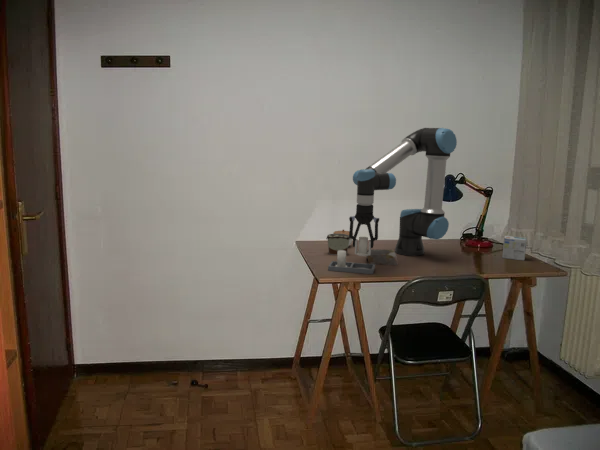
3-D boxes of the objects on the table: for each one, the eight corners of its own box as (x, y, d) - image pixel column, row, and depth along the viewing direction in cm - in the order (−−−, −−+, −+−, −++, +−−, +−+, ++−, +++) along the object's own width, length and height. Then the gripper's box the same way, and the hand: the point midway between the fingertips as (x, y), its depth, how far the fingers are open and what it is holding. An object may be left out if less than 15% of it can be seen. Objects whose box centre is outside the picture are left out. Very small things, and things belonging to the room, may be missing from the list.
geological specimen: (365, 249, 253) (395, 248, 252) (365, 261, 254) (395, 260, 253) (366, 253, 243) (398, 253, 242) (367, 266, 244) (398, 265, 243)
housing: (374, 268, 237) (375, 251, 235) (372, 274, 227) (373, 256, 226) (331, 264, 241) (332, 248, 240) (328, 270, 232) (328, 252, 230)
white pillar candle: (369, 253, 234) (370, 236, 232) (367, 256, 228) (368, 239, 227) (357, 252, 235) (358, 235, 233) (355, 255, 230) (356, 238, 228)
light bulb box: (524, 257, 260) (527, 237, 258) (524, 260, 254) (526, 240, 252) (502, 255, 264) (504, 235, 262) (501, 258, 258) (503, 237, 256)
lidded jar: (353, 248, 273) (354, 231, 271) (333, 248, 273) (334, 231, 271) (351, 244, 284) (352, 227, 282) (332, 243, 284) (333, 227, 282)
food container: (349, 252, 266) (350, 233, 264) (349, 255, 259) (350, 236, 258) (326, 251, 267) (326, 232, 265) (325, 254, 261) (326, 235, 259)
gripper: (386, 204, 229) (383, 253, 233) (345, 201, 233) (343, 250, 237) (385, 206, 221) (382, 257, 226) (343, 204, 226) (341, 254, 230)
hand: (362, 254), depth 232 cm, fingers closed on white pillar candle, 5 cm apart
